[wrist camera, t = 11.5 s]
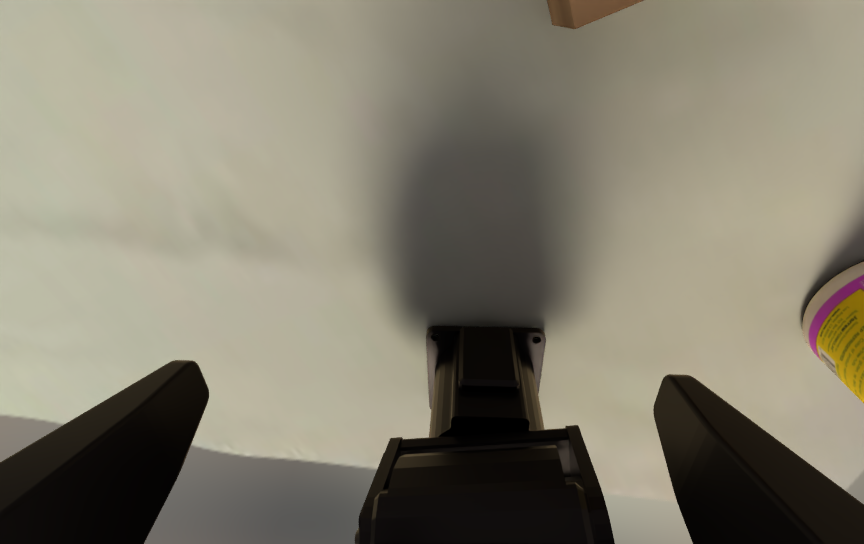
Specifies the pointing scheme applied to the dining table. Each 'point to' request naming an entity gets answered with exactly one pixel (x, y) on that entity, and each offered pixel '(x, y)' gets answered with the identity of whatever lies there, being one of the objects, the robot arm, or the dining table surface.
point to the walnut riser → (584, 10)
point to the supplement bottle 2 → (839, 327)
